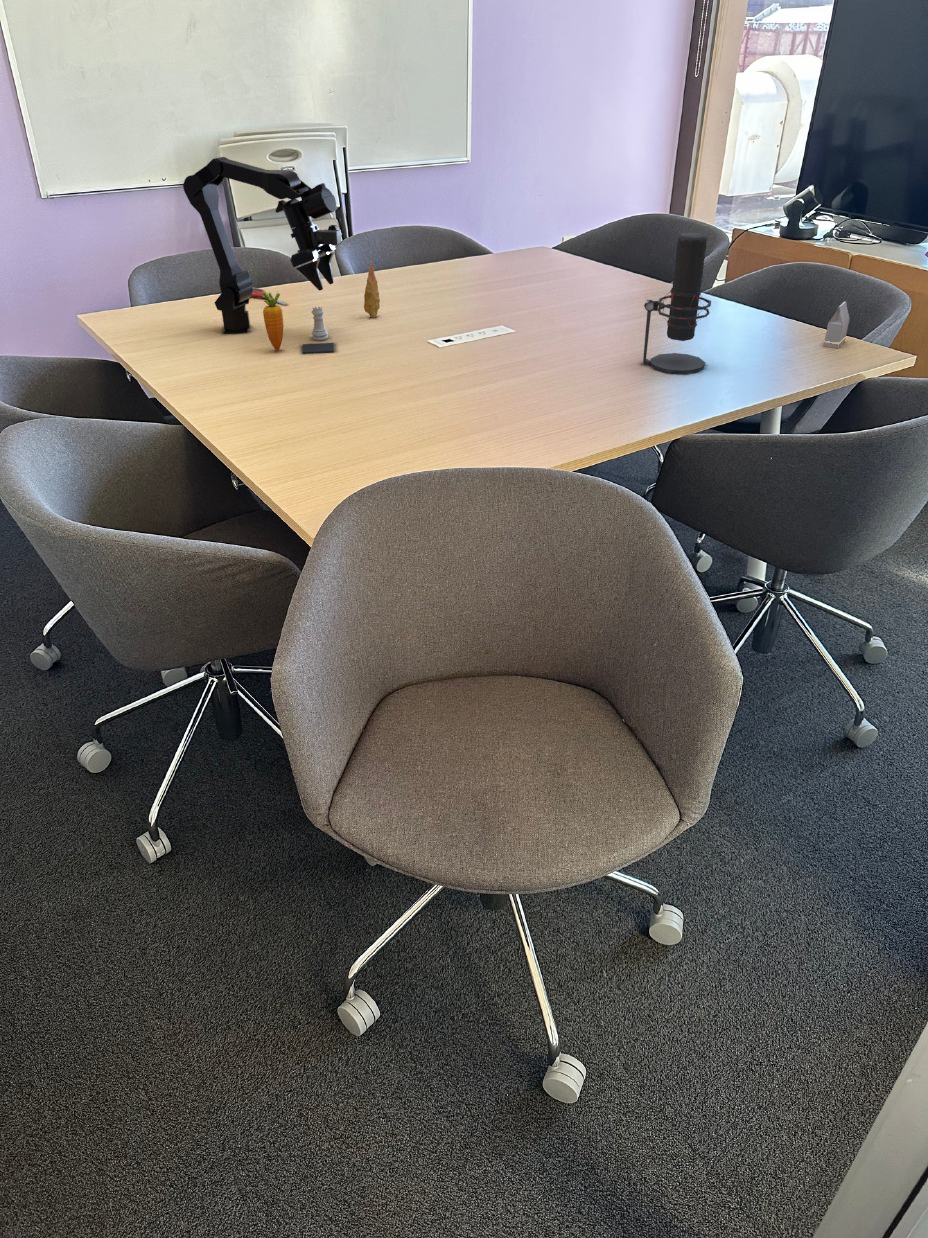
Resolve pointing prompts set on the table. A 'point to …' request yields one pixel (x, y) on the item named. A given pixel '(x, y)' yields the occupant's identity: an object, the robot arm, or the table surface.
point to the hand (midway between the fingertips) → (326, 286)
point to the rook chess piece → (319, 325)
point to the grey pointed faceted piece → (837, 327)
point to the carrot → (273, 320)
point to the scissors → (259, 294)
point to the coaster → (318, 348)
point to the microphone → (681, 305)
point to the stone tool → (371, 294)
